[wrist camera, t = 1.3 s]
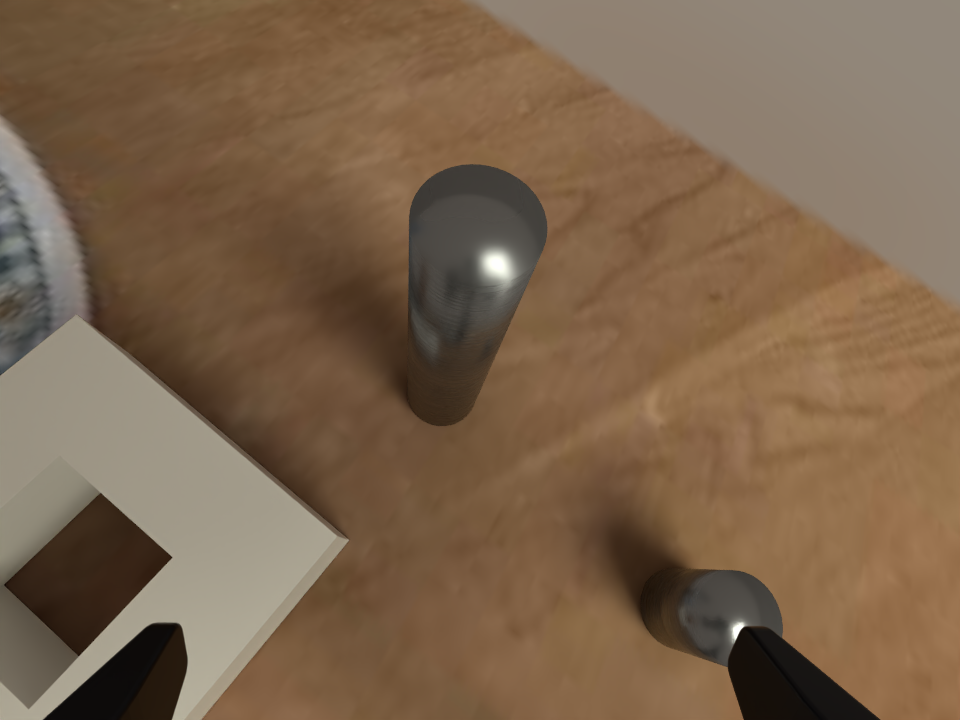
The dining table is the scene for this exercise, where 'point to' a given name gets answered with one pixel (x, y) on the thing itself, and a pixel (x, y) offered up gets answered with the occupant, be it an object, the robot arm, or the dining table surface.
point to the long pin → (465, 282)
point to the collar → (142, 520)
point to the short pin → (706, 610)
